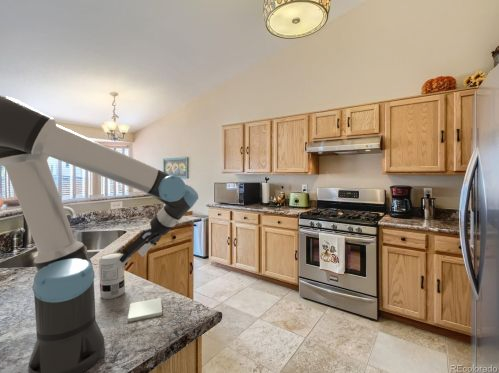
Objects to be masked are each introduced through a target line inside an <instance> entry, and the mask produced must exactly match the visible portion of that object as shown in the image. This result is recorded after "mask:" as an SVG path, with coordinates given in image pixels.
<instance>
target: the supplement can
mask: <svg viewBox="0 0 499 373" xmlns="http://www.w3.org/2000/svg"><path fill="white" fill-rule="evenodd" d="M122 255H123V253H122V252H121V253H120V252H113V253H107V254H103V255H101V256H100V258H99V260H98V271H99V272H98V274H99V292H100V293H99V295H100V298H102V299H103V300H111V299H116V298H118V297H120V296H122V295H124V293H125V291H126V289H125V288H126V287H125V286H126V285H125V284H126V283H125V265H124V266H123V267H122V268H121V269H118V268H117V267H116V266H115V265H114V263H115V262H116V261H117V260H118V259H119V258H120V257H121V256H122Z"/></svg>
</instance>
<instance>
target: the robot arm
mask: <svg viewBox="0 0 499 373" xmlns="http://www.w3.org/2000/svg"><path fill="white" fill-rule="evenodd" d="M49 157H51V158H52V159H56V160H58V161H60V162H63V163H66V164H69V165H72V166H73V167H76V168H79V169H82V170H84V171H88V172H90V173H92V174H95V175H98V176H99V177H102V178H105V179H108V180H111V181H113V182H116V183H119V184H122V185H124V186H127V187H129V188H132V189H135V190H137V191H140V192H143V193H145V194H147V195H149V196H151V197H152V198H154V199H156V200H158V201H159V202H161V203H163V204H164V205H163V207H162V208H161V209H160V210H159V211H158V212H157V213H156V214H155V215H154V217H153V218H152V219H151V220H150V223H149V226H150V228H148V229H147V230H145V231H143V232H142V233H141V234H140V235H139V236H138V237H137V238H136V239H135V240H134V241H132V242H131V243H130V244H129V245H128V246H127V247H126V248H124V249H123V250H122V251H121V254H122V256H121V257H120V258H119V259H118V260H117V261H116V262H115V263H114V265H115V266H116V267H117V268H118V269H121V268H122V267H123V266H124V267H125V265H126V263H128V261H129V260H130V259H131V258H132V256H133V255H134V254H135V253H136V252H137V254H139V255H140V256H141V257H142V258H143V257H144V256H146V254H147V252H148V251H149V250H150V249H151V248H152V247H153V246H157V244H158V243H159V241H160V239H161V238H162V236H165V235H168V233H170V232H171V230H173V227H175V226H176V225H179V221H180V220H181V219H182V217H184V216H185V215H186V214H187V213H188V211H189V210H190V209H191V208H193V206H194V205H195V204H196V203H197V201H198V200H199V194H198V192H197V191H196V189H194V188H193V187H192V186H191V185H188V184H185V181H184V179H183V178H182V177H179V176H177V175H174V174H169V173H167V172H165V171H162V170H160V169H157V168H155V167H154V166H151V165H149V164H146V163H145V162H141V161H140V160H137V159H135V158H133V157H131V156H128V155H127V154H125V153H123V152H119V151H117V150H115V149H113V148H112V147H111V148H110V147H108V146H106V145H104V144H102V143H100V142H97V141H95V140H93V139H91V138H88V137H86V136H84V135H82V134H79V133H77V132H74V131H73V130H71V129H68V128H65V127H63V126H61V125H59V124H57V122H56V119H55V118H54V117H52V116H49V115H47V114H45V113H43V112H41V111H39V110H37V109H35V108H33V107H31V106H30V105H28V104H26V103H24V102H22V101H20V100H18V99H15V98H14V97H10V96H6V95H0V166H2V167H4V168H5V171H6V172H7V175H8V178H9V181H10V184H11V186H12V188H13V191H14V194H15V196H16V199H17V201H18V204H19V206H20V209H21V211H22V214H23V217H24V219H25V222H26V224H27V227H28V230H29V232H30V235H31V237H32V239H33V240H32V241H33V242H34V246H35V247H36V250H37V255H36V256H35V258H34V259H33V263H34V265H35V269H36V271H37V272H36V273H35V275H34V277H33V284H32V292H33V295H34V297H33V298H34V313H35V331H36V340H35V343H34V347H33V349H32V352H31V355H30V358H29V362H28V366H27V372H28V373H84V372H86V371H87V370H88V369H89V370H90V368H91V367H93V366H94V365H96V363H97V362H98V361H100V359H101V358H102V357H103V355H104V353H105V351H106V344H105V342H106V341H105V337H104V335H103V332H102V330H101V329H100V326H99V325H98V323H97V320H96V302H95V301H96V299H95V271H94V267H93V263H92V260H91V259H90V257H89V256H87V255H88V252H87V253H86V250H85V247H84V245H85V244H84V243H83V242H81V241H78V240H76V238H75V236H74V233H73V230H72V227H71V225H70V224H71V223H70V221H69V218H68V216H67V212H66V211H65V208H64V205H63V202H62V200H61V197H60V196H61V195H60V193H59V190H58V188H57V185H56V183H55V179H54V177H53V174H52V171H51V168H50V165H49V162H48V159H49Z"/></svg>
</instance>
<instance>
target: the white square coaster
mask: <svg viewBox="0 0 499 373" xmlns="http://www.w3.org/2000/svg"><path fill="white" fill-rule="evenodd" d="M162 303H163V302H162V297H159V298H158V297H157V298H152V299H146V300H142V301H137V302H130V304H129V309H128V315H127V322H134V321H140V320H145V319H149V318H150V319H151V318H154V317H159V316H162V315H163V307H162V306H163V304H162Z"/></svg>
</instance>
